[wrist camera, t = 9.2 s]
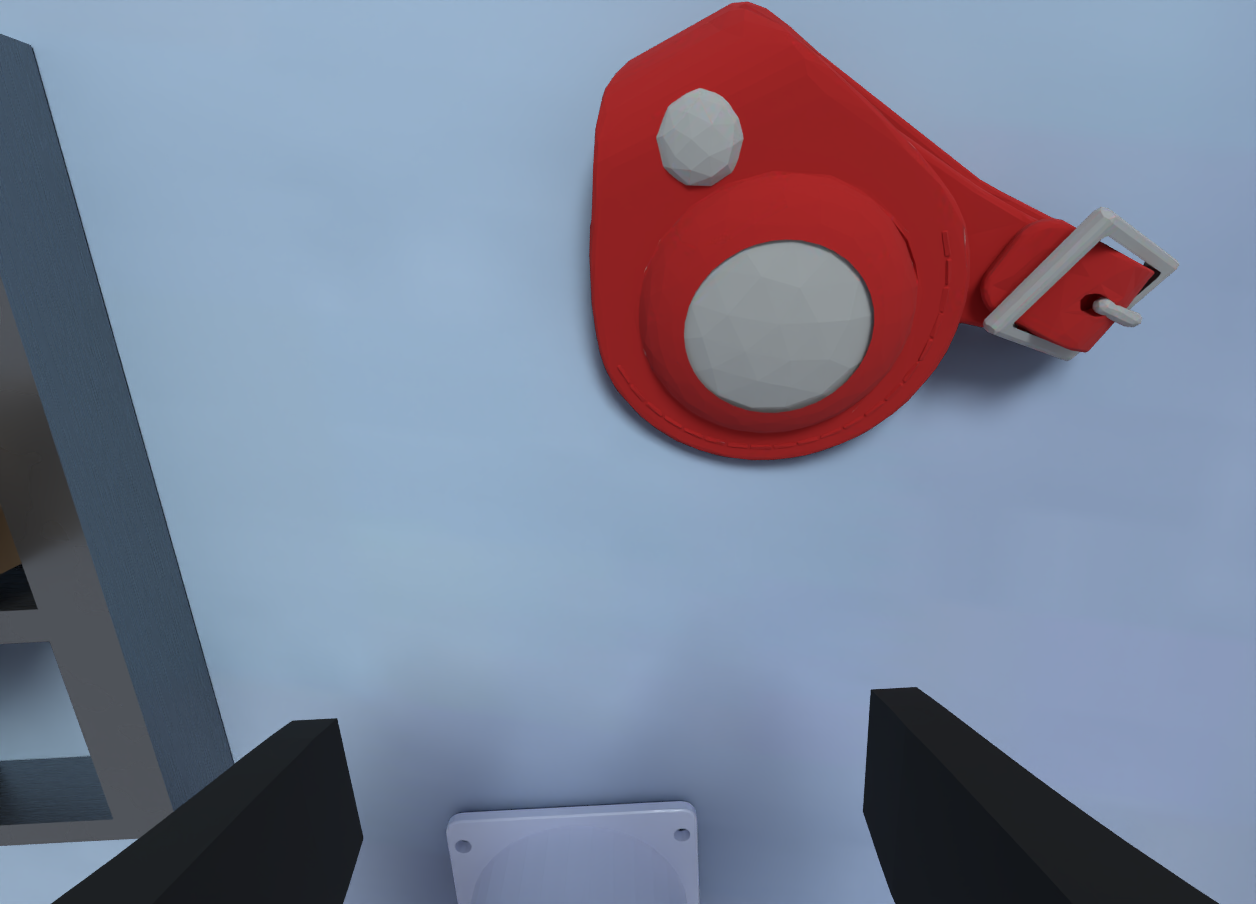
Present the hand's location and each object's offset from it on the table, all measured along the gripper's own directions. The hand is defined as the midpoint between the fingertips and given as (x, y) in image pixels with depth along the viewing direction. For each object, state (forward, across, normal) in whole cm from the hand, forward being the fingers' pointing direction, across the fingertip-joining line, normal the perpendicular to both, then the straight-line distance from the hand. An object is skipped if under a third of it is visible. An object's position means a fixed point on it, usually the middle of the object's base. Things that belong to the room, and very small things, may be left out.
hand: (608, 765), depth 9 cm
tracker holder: (+10, -6, -6) cm, 13 cm away
